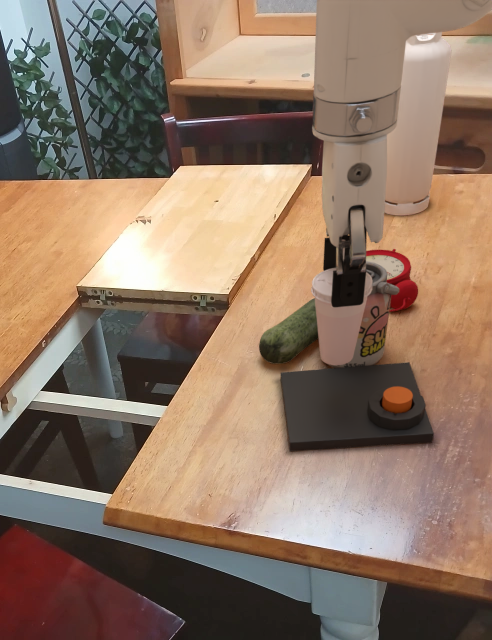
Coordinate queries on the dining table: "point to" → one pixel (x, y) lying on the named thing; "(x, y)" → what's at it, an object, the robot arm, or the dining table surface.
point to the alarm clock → (396, 276)
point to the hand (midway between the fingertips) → (342, 286)
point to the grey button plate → (351, 408)
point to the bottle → (417, 124)
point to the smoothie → (336, 320)
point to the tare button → (397, 399)
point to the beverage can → (373, 320)
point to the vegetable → (290, 335)
